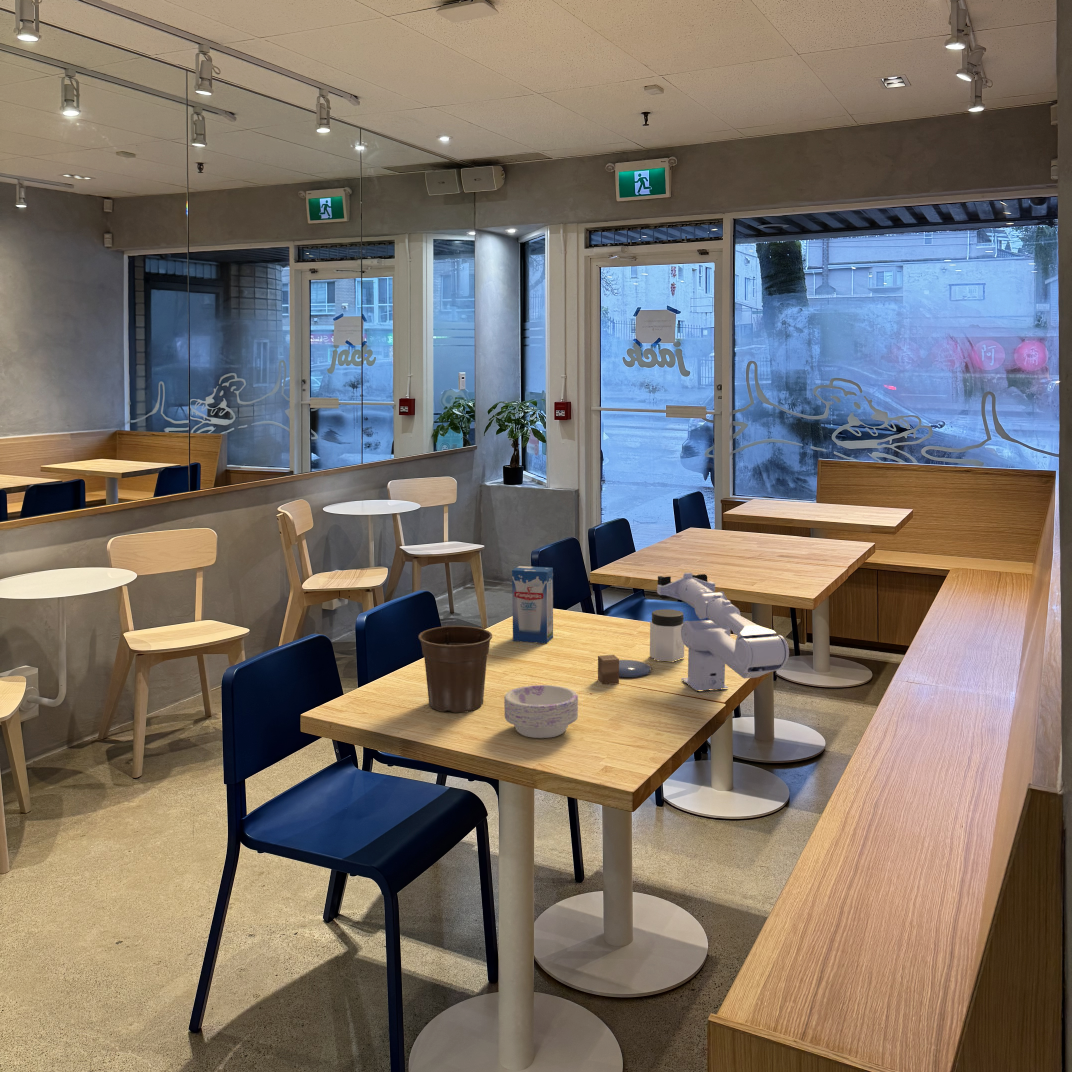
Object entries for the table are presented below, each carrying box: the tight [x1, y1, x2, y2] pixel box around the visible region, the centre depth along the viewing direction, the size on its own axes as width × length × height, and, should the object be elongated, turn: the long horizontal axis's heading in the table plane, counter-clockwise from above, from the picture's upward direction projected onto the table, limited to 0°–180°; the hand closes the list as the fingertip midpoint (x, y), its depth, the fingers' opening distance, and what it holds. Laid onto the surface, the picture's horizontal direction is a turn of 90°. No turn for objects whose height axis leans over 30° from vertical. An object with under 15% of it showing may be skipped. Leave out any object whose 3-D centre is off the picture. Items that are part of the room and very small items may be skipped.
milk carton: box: [511, 565, 554, 644], centre depth 275 cm, size 10×6×20 cm, turn 73°
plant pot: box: [418, 625, 493, 714], centre depth 221 cm, size 16×16×16 cm
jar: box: [649, 608, 685, 662], centre depth 257 cm, size 9×8×12 cm
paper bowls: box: [503, 684, 579, 739], centre depth 205 cm, size 15×15×8 cm
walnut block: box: [597, 654, 620, 685], centre depth 238 cm, size 4×4×6 cm
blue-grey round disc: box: [619, 659, 651, 678], centre depth 247 cm, size 12×12×1 cm
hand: (673, 579), depth 251 cm, fingers open, 7 cm apart
